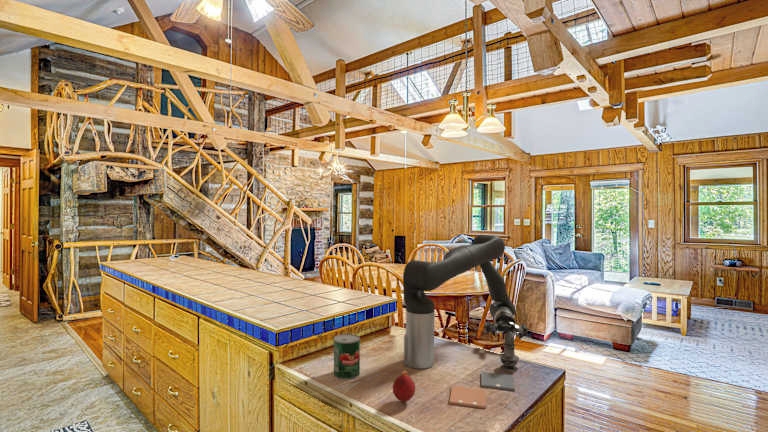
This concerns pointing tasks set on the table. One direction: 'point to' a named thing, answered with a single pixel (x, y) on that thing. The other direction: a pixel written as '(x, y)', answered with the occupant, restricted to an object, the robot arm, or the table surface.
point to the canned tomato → (346, 356)
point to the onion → (404, 387)
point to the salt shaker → (509, 354)
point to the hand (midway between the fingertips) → (507, 334)
